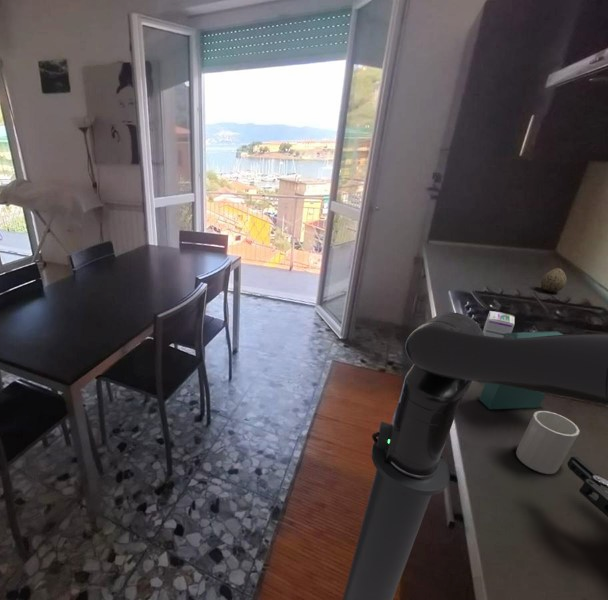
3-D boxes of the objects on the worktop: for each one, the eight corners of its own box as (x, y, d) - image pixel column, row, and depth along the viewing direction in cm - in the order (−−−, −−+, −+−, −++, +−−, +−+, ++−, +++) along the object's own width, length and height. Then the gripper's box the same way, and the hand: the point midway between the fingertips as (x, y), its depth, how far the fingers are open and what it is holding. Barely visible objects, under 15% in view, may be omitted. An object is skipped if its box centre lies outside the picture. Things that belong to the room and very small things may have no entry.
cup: (519, 466, 70) (538, 428, 66) (513, 443, 75) (530, 406, 71) (562, 479, 67) (584, 440, 63) (552, 454, 72) (572, 417, 68)
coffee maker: (478, 399, 87) (504, 333, 79) (526, 397, 88) (557, 331, 80) (510, 429, 79) (543, 358, 70) (563, 427, 79) (602, 356, 71)
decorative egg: (566, 294, 140) (576, 270, 136) (551, 296, 139) (562, 272, 134) (546, 287, 146) (556, 264, 142) (532, 289, 145) (542, 266, 141)
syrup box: (498, 369, 98) (516, 324, 92) (472, 362, 101) (488, 317, 95) (498, 360, 102) (516, 315, 96) (473, 353, 105) (489, 309, 99)
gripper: (797, 544, 44) (647, 441, 59) (686, 549, 44) (563, 444, 58) (758, 578, 47) (625, 472, 62) (654, 583, 47) (545, 475, 62)
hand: (595, 459), depth 60 cm, fingers open, 8 cm apart
